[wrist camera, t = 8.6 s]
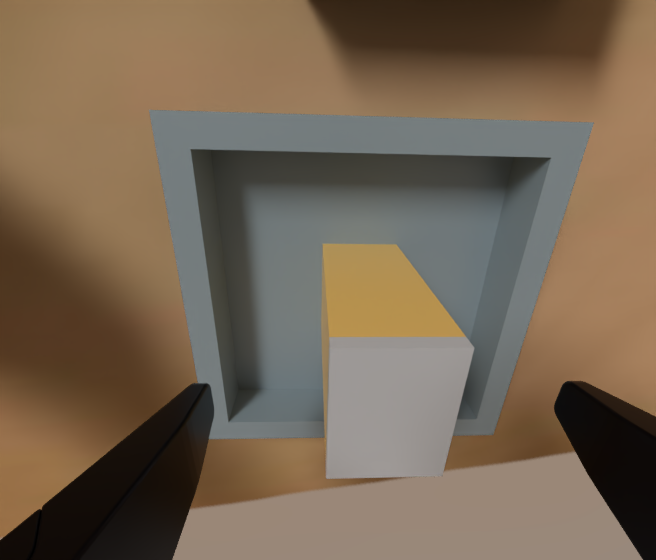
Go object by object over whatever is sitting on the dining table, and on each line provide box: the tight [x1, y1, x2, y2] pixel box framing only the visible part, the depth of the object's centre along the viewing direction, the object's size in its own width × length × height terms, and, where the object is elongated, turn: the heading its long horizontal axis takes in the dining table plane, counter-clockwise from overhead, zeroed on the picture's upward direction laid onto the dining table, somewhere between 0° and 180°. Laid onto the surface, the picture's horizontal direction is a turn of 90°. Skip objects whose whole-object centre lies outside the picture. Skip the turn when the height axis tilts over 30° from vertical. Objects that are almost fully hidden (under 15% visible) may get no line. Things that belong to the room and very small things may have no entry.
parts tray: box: [149, 110, 594, 439], centre depth 13 cm, size 13×13×3 cm
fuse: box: [321, 244, 474, 479], centre depth 11 cm, size 3×4×7 cm
